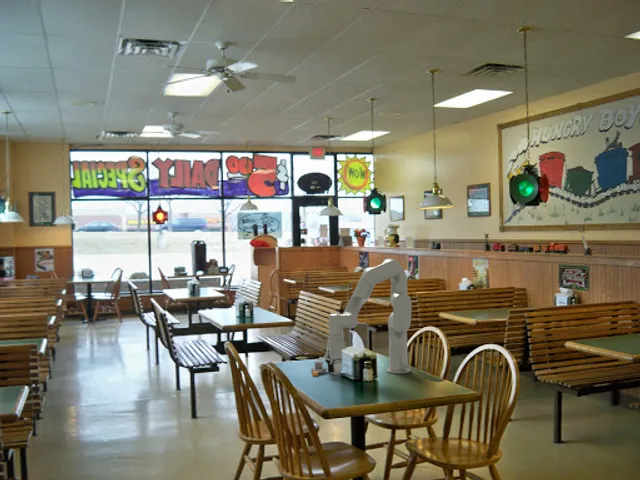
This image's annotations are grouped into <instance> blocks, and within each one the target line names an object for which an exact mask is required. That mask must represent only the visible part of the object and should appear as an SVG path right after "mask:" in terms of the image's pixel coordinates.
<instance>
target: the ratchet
mask: <svg viewBox="0 0 640 480" xmlns="http://www.w3.org/2000/svg"><path fill="white" fill-rule="evenodd" d="M310 369H311V370H310V372H311V374H312V377H319V376H320V375H323V374H324V375H325V374H327V373H328V367H326V366H324V361H322V360H316V361H315V362H314V366H313V367H310Z"/></svg>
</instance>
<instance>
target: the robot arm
mask: <svg viewBox="0 0 640 480" xmlns="http://www.w3.org/2000/svg"><path fill="white" fill-rule="evenodd" d="M389 279H390V299H389V301H390V305H391V307H392V312H391V313H390V314H389V315H388V319H387V327H388V329H387V330H388V350H389V351H388V353H389V354H388V357H389V359H388V360H389V362H388V363H389V364H388V365H389V366H388V367H386V372H387V373H390V374H409V373H410V372H411V369H412V366H409V363H408V333H407V332H408V330H409V329H410V328H411V323H412V308H413V307H412V305H413V304H412V299H411V298H410V296H409V294H408V277H407V274H406V271H405V269H404V268H403V265H401V263H400V262H399V261H398V260H396V259H394V258H386V259H384V260H383V262H382V263H381V264H379V265H376V266H374V267H366V268H365V269H364V270H363V272H362V274H361V276H360V279H359V281H358V283H357V284H356V287H355V289H354V291H353V293H352V294H351V297H350V299H349V300H348V302H347V304H346V306H345V308H344V310H343V312H342V313H340V312H338V313H337V312H335V313H333V312H332V313H330V314H329V316H328V339H327V342H326V350H325V355H324V356H322V359H323V360H324V361H325V362H326V364H327V371H328V370H329V372H333V365H332V362H333V359H341V358H342V356H341V353H342V351H343V350H342V349H345V348H346V342H345V338H344V337H345V336H346V334H345V333H344V328H346V329H347V328H348V329H354V328H355V327H357V326H358V324H359V318H358V315H359V312H360V310H361V309H362V306H363V305H364V304H365V303H367V301H368V300H369V299H370V297H371V295H372V292H373V289H374V287H375V285H377V284H379V283H383V282H384V281H385V282H386V281H387V280H389ZM346 349H347V348H346ZM341 350H342V351H341ZM340 352H341V353H340Z"/></svg>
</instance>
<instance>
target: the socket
mask: <svg viewBox="0 0 640 480" xmlns="http://www.w3.org/2000/svg"><path fill="white" fill-rule="evenodd" d="M332 365H333V372H329V370H328V369H327V373H328V374H331V375H333V376H339V375H341V374H340V373H341V366H342V359H333V362H332Z"/></svg>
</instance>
